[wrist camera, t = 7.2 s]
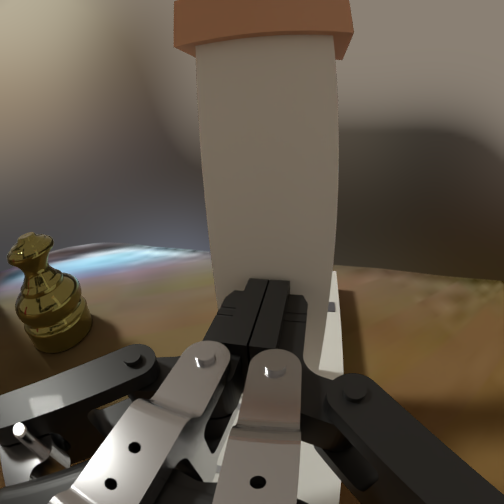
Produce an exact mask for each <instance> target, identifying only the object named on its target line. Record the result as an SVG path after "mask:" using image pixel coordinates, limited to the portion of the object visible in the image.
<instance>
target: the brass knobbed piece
mask: <svg viewBox="0 0 504 504" xmlns="http://www.w3.org/2000/svg"><path fill="white" fill-rule="evenodd" d="M53 244H54V241H53V238H52V237H51V236H48V235H44V234H38V235H36V234H35V233H34V232H30V233H26V234H24V235H22V236H21V237H19V238H18V240H17V243H16V244H15V245H14V246H13V247H12V248H11V250H10V251H9V253H8V255H7V261H8V263H9V264H10V265H13V266H16V267H18V268H20V269H21V270H22V271H23V272H24V275H25V278H24V282H23V285H22V287H21V292H20V294H19V295H18V297H17V299H16V303H15V311H16V314H17V316H18V317H19V319H20V320H21V321H22V322H23V323H24V329H25V331H26V333H27V334H28V335H29V337H30V339H31V341H32V343H33V345H34V346H35V347H36V348H37V349H38V350H40V351H42V352H45V353H57V352H61V351H64V350H67V349H69V348H71V347H73V346H74V345H76V344H77V343H79V342H80V341H81V340H82V339H83V338H84V337H85V336H86V334H87V333H88V331H89V330H90V327H91V324H92V316H91V314H90V311H89V309H88V307H87V302H86V300H85V298H84V297H83V296H81V286H80V283H79V281H78V279H77V278H76V277H74V276H73V275H71V274H68V273H62V272H61V271H60V270H57V269H54V268H53V267H51V266H50V265H49V264H48V255H49V252H50V250H51V249H52V247H53Z"/></svg>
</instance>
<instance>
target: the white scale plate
mask: <svg viewBox="0 0 504 504" xmlns="http://www.w3.org/2000/svg"><path fill="white" fill-rule="evenodd" d="M318 375H319V376H322V377H325V378H328V379H331V380H334V379H335V378H337V377H338V376H341V375H343V351H342V333H341V319H340V307H339V296H338V286H337V276H336V271H332V280H331V289H330V297H329V305H328V313H327V320H326V327H325V334H324V340H323V347H322V353H321V359H320V364H319V370H318ZM242 397H243V395H241V397H240V400H239V404H238V413H237V415H236V418H235V420H234V423H233V425H232V427H233V426H235V425H236V423H237V420H238V416H239V411H240V407H241V402H242ZM232 427H231V428H232ZM229 433H230V432H229ZM228 437H229V434H228V436H227V439H226V441H225V443H224V446H223V448H222V450H221V452H220V455H219V457H218V461H217V469H216V474H215V477H214V479H213V481H212V482H218V478H219V474H220V470H221V466H222V462H223V458H224V453H225V449H226V445H227V441H228ZM340 488H341V480H340V479H339V478H338V477H337V475H336V474H335V473H334V472H333V471H332V470H331V468H330V467H329V466H328V465H327V464H326V462H325V461H324V460H323V459H322V458H321V456H320V455H319V454H318V453H317V451H316V450H315V448H314V446H313V445H311V444H308V443H306V442H303V441H301V450H300V466H299V480H298V492H297V498H298V499H300V500H302V501H305V502H307V503H308V504H339V498H340Z"/></svg>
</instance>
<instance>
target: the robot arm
mask: <svg viewBox="0 0 504 504" xmlns="http://www.w3.org/2000/svg"><path fill="white" fill-rule="evenodd" d="M307 309H308V303H307V301H306V300H305V298H304V296H303V295H294V294H290V281H286V280H270V281H269V279H255V278H249V280H248V282H247V284H246V287H245V289H244V291H240V290H234V291H233V292H232V293H230V294H229V295H228V296H226V297H225V299H224V301H223V303H222V305H221V308H219V310H218V312H217V315H216V316H215V318H214V320H213V322H212V324H211V326H210V327H209V329H208V331H207V333H206V335H205V337H204V339H203V341H201V342H197V343H195V344H192V345H191V346H189V347H188V348H187V349H186V350H185V351H184V352H183V354H182V355H181V356H178V357H160V358H156V356H155V353H154V351H153V350H152V349H151V348H150V347H148V346H146V345H142V344H133V345H129V346H126V347H124V348H121V349H119V350H117V351H114V352H112V353H109V354H107V355H105V356H102V357H100V358H97V359H95V360H92V361H90V362H87V363H85V364H83V365H80V366H78V367H75V368H73V369H70V370H67V371H65V372H62V373H60V374H57V375H55V376H52V377H49V378H47V379H44V380H41V381H39V382H36V383H33V384H31V385H28V386H25V387H23V388H20V389H17V390H14V391H11V392H9V393H6V394H3V395H0V458H1V465H2V470H3V476H4V480H5V485H6V487H3V488H2V489H0V504H308V503H307V502H305V501H302V500H300V499H298V498H297V492H298V480H299V466H300V450H301V441H303V442H306V443H308V444H311V445H313V446H314V448H315V450H316V451H317V453H318V454H319V455H320V456H321V458H322V459H323V460H324V461H325V462H326V464H327V465H328V466H329V467H330V468H331V470H332V471H333V472H334V473H335V474H336V475H337V477H338V478H339V479H340V480H341V481H342V482H343V484H344V485H345V486H346V487H347V488H348V489H349V490H350V492H351V493H352V494H353V495H354V496H355V497H356V498H357V499H358V500H359V502H360V503H361V504H504V495H503V494H502V493H501V492H500V491H498V490H497V489H496V488H495V487H494V486H493V485H491V484H490V483H489V482H488V481H487V480H485V479H484V478H483V477H482V476H481V475H480V474H478V473H477V472H476V471H475V470H474V469H473V468H471V467H470V466H469V465H468V464H467V463H466V462H464V461H463V460H462V459H461V458H460V457H459V456H457V455H456V454H455V453H454V452H453V451H452V450H451V449H449V448H448V447H447V446H446V445H445V444H444V443H443V442H441V441H440V440H439V439H438V438H437V437H436V436H435V435H433V434H432V433H431V432H430V431H429V430H428V429H427V428H426V427H424V426H423V425H422V424H421V423H420V422H419V421H418V420H416V419H415V418H414V417H413V416H412V415H411V414H410V413H409V412H408V411H406V410H405V409H404V408H403V407H402V406H401V405H400V404H399V403H397V402H396V401H395V400H394V399H393V398H392V397H391V396H390V395H389V394H387V393H386V392H385V391H384V390H383V389H382V388H381V387H380V386H379V385H377V384H376V383H375V382H374V381H373V380H372V379H370V378H369V377H367V376H364V375H361V374H356V373H349V374H344V375H341V376H338V377H337V378H335V379H334V380H331V379H328V378H325V377H322V376H319V375H317V374H315V373H314V372H312V371H311V370H310V369H309V368H308V367H307V366H306V364H305V362H304V359H303V352H304V342H305V332H306V321H307ZM242 393H243V397H242V402H241V407H240V411H239V416H238V420H237V423H236V425H235V426H233V427H232V425H233V423H234V420H235V418H236V415H237V413H238V404H239V400H240V397H241V394H242ZM126 395H128V396H129V398H128V399H126V400H124V401H121V402H119V403H117V404H114V405H112V406H110V407H107V408H105V409H102V410H97V409H95V408H98V407H100V406H103V405H105V404H107V403H110V402H112V401H114V400H117V399H119V398H121V397H124V396H126ZM231 427H232V428H231ZM229 432H230V433H229ZM228 434H229V437H228V441H227V445H226V449H225V453H224V458H223V462H222V466H221V470H220V474H219V478H218V482H212V481H213V479H214V477H215V474H216V469H217V461H218V457H219V455H220V452H221V450H222V448H223V446H224V443H225V441H226V439H227V436H228ZM92 456H93V457H92ZM90 457H92V458H91V459H90V460H87V461H85V462H82V463H80V464H77V465H75V466H71V465H70V464H72V463H75V462H78V461H81V460H84V459H87V458H90Z"/></svg>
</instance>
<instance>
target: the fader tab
mask: <svg viewBox="0 0 504 504" xmlns="http://www.w3.org/2000/svg"><path fill="white" fill-rule="evenodd" d="M353 33H354V30H353V22H352V17H351V10H350V4H349V0H177V1H175V2H174V47H175V48H177V49H179V50H181V51H183V52H185V53H187V54H189V55H191V56H193V57H195V58H196V79H197V100H198V117H199V133H200V147H201V160H202V172H203V182H204V183H203V184H204V194H205V204H206V215H207V224H208V234H209V242H210V251H211V260H212V268H213V276H214V284H215V291H216V299H217V306H218V310H219V308H221V305H222V303H223V301H224V299H225V297H226V296H228V295H229V294H230V293H232V292H233V291H234V290H240V291H244V289H245V287H246V284H247V282H248V280H249V278H255V279H269V281H270V280H286V281H290V294H294V295H303V296H304V298H305V300H306V301H307V303H308V309H307V321H306V332H305V342H304V352H303V359H304V362H305V364H306V366H307V367H308V368H309V369H310V370H311V371H312V372H314V373H315V374H317V375H318V370H319V364H320V359H321V353H322V347H323V340H324V334H325V327H326V320H327V313H328V305H329V297H330V289H331V280H332V270H333V259H334V247H335V235H336V219H337V201H338V200H337V199H338V170H339V125H338V124H339V123H338V93H337V76H336V62H335V60H342V59H343V57H344V55H345V53H346V50H347V48H348V46H349V43H350V41H351V38H352V36H353ZM241 395H243V393H242V394H241Z"/></svg>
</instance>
